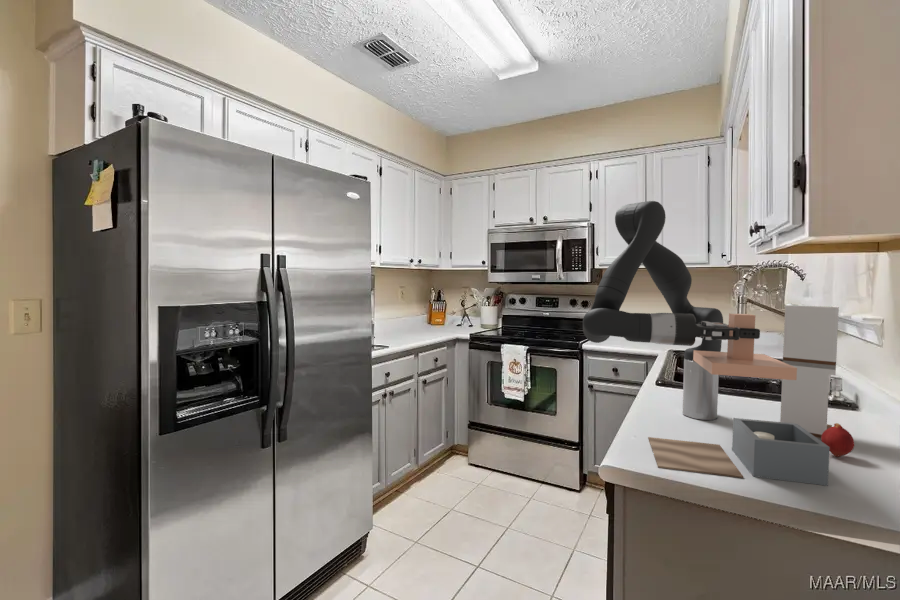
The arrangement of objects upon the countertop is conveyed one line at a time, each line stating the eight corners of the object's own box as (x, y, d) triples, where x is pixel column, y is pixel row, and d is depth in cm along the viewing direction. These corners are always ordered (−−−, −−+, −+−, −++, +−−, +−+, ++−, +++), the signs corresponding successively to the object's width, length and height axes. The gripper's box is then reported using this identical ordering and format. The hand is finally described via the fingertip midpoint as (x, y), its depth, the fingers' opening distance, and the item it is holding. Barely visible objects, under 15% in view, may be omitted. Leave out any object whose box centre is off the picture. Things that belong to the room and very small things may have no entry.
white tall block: (832, 444, 111) (838, 307, 109) (779, 434, 118) (785, 305, 116) (831, 432, 119) (837, 305, 117) (782, 423, 126) (787, 303, 124)
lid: (693, 360, 109) (695, 310, 109) (763, 364, 105) (766, 312, 104) (711, 374, 93) (714, 316, 92) (796, 380, 88) (799, 319, 88)
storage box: (732, 449, 107) (733, 417, 107) (795, 456, 103) (796, 423, 102) (753, 476, 93) (754, 439, 92) (827, 485, 89) (829, 447, 88)
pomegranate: (834, 450, 107) (836, 418, 106) (860, 460, 101) (862, 426, 100) (814, 452, 106) (815, 419, 105) (839, 462, 100) (840, 428, 100)
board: (648, 438, 114) (648, 436, 114) (719, 446, 109) (719, 444, 109) (657, 467, 97) (658, 465, 97) (743, 478, 92) (743, 476, 92)
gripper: (677, 315, 96) (768, 318, 91) (666, 311, 109) (745, 313, 104) (676, 349, 96) (767, 354, 91) (665, 340, 110) (743, 344, 105)
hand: (754, 332), depth 98 cm, fingers closed on lid, 4 cm apart
